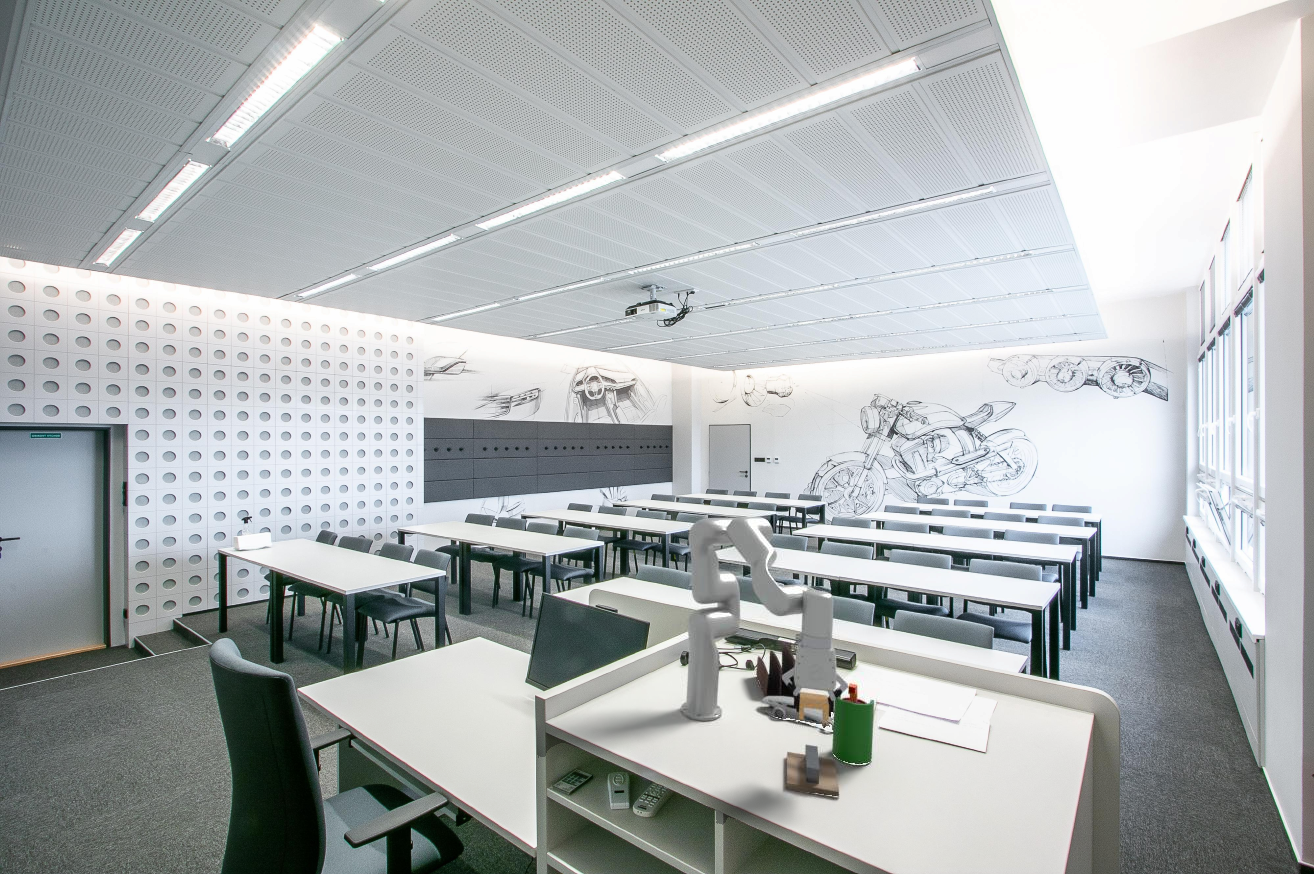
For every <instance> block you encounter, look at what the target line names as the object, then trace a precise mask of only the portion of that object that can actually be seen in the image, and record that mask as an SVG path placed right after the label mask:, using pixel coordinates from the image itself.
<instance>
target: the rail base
mask: <svg viewBox="0 0 1314 874" xmlns="http://www.w3.org/2000/svg"><path fill="white" fill-rule="evenodd" d="M818 758H819V768H820V772H819V784H815V783H809V782H806V770H805V753H804V754H803V753H799V752H798V753H797V752H791V751H787V752H786V790H787V791H793V790H794V791H795V792H799V791H801V793H805V792H809V793H808V794H811V793H818V794H824V795H832V796H839V797H840V789H839V783H838V776H837V769H836V763H835V762H836V761H835V759H834V758H828V757H823V756H822V757H821V756H818Z"/></svg>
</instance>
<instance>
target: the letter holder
mask: <svg viewBox="0 0 1314 874" xmlns="http://www.w3.org/2000/svg"><path fill="white" fill-rule="evenodd" d="M795 659H796V657H795V656H794V655H793V653H792V650H791V649H790V648H789V646H788V645H787V644H786V643H785V642H782V644H781V662H780V660H779V658H778V656H777V654H776V653H775V651H773V650H772V649H770V651H769V663H768V664H769V666H768V669H767V667H766V665H765V664H766V663H765V662H764V660H763V658H761V656H759V655H758V656H757V661H756V673H755V676H756V675H757V677H756V679H757V678H758V680H759V682H760V684H759V686H760V685H761V687H762V689H761V691H762V690H763V691H762V693H763V692H764V693H763V696H764V695H765V696H764V697H767V696H786V697H792V698H794V694H793V692H792V691H791V690H790V689H789V688H788V686H787V685H786V683H785V682H784V681H783V679H782V675H784V674H785V673H787V672H788V671H790V670H791V669H793V668H794V667H795ZM789 679H790V681H791V682H792V683H793V684H794V685H795V682H794V675H793V676H792V677H790V678H789ZM758 680H757V681H758ZM759 682H758V683H759ZM761 687H760V688H761Z"/></svg>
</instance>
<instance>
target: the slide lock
mask: <svg viewBox="0 0 1314 874" xmlns="http://www.w3.org/2000/svg"><path fill="white" fill-rule="evenodd" d="M799 693H800V704H799V719H802V720H804V707H805V708H812V709H819V710H822V711H823V721H824V723H828V719H829V702H828V697H829V695H827V694H818V693H812V692H811V693H810V692H803V691H800V692H799Z"/></svg>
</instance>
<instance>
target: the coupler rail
mask: <svg viewBox="0 0 1314 874" xmlns="http://www.w3.org/2000/svg"><path fill="white" fill-rule="evenodd" d="M804 750H805V751H804V752H805V753H804V755H805V770H806V782H809V783H815V784H819V772H820V768H819V758H818V757H819V751H818V750H819V749H818V746H816V745H810V744H805V749H804Z"/></svg>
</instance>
